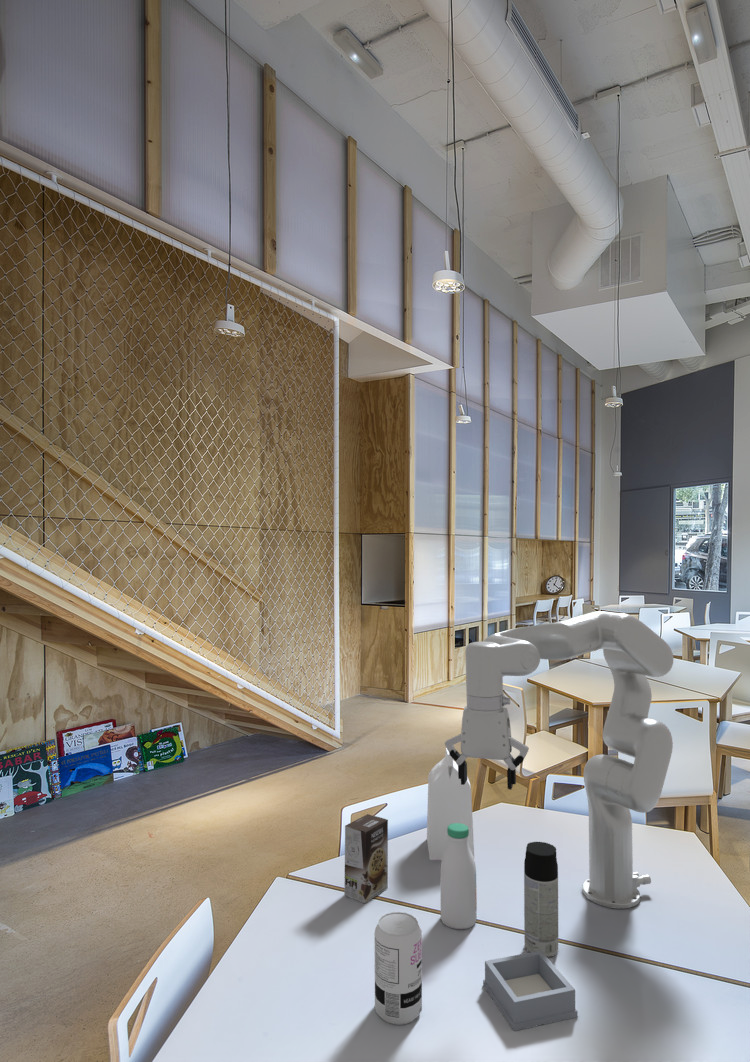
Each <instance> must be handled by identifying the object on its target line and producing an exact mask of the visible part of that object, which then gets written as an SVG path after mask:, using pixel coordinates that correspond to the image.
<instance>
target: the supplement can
mask: <svg viewBox="0 0 750 1062" xmlns="http://www.w3.org/2000/svg"><path fill="white" fill-rule="evenodd" d="M422 932H423V931H422V929H421V926H420V925H419V921H418V920H417V918H416V917H415V916H414V915H412V914H410V913H406V912H402V911H401V912H400V911H393V912H388V913H385V914H384V915H381V916H380V917H379V919H378V922H377V923H376V926H375V928H374V1009H375V1011H376V1014H377V1015H378V1016H379V1017H380V1018H381V1019H382V1020H383V1021H385V1022H387V1024H392V1025H396V1026H397V1025H398V1026H401V1025H406V1024H409V1023H412V1022H413V1021H414V1020H416V1019H417V1018H418V1017H419V1016H420V1014H421V1013H422V1010H423V996H422V995H423V992H422V991H423V988H422V987H423V983H422V981H423V979H422V978H423V971H422V970H423V966H422V963H423V962H422V961H423V960H422V959H423V958H422V957H423V955H422V953H423V951H422V950H423V949H422V948H423V947H422V946H423V945H422V944H423V942H422V939H423V937H422V936H423V935H422Z"/></svg>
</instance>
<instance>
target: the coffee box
mask: <svg viewBox="0 0 750 1062" xmlns="http://www.w3.org/2000/svg"><path fill="white" fill-rule="evenodd" d="M388 822H389V819H387V818H384V817H381V816H376V815H372V814H369V813H367V814H365V815H363V816H361V817H359V818H357V819H355V820H354V821H352V822H350V823H347V824H346V825H344V887H343V888H344V891H343V892H344V896H346V895H347V896H346V897H348V898H350V897H351V899H353V900H355V901H356V902H360V903H362V904H366V903H367V902H369V901H371V900H372V899H373V898H375V897H377V896H379V894H381V893H383V892H384V891H386V890H387V889H388V887H389V881H388V879H389V877H388V875H389V872H388V871H389V869H388V868H389V862H388V861H389V860H388V859H389V855H388V854H389V852H388V851H389V849H388V848H389V847H388V846H389V843H388V841H389V838H388V837H389V832H388V831H389V828H388V827H389V826H388V825H389V823H388Z"/></svg>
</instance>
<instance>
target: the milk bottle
mask: <svg viewBox="0 0 750 1062" xmlns="http://www.w3.org/2000/svg"><path fill="white" fill-rule="evenodd" d="M447 833H448V835H447V836H448V838H449V840H448V845H447V848H446V850H445V852H444V854H443V857H442V860H440V919H441V922H442V923H443V924H444V925H445V926H447V927H449V928H451V929H455V930H466V929H467V930H468V929H470V928H471V927H473V926H475V924H476V922H477V915H478V914H477V913H478V912H477V911H478V910H477V908H478V907H477V903H478V901H477V899H478V898H477V866H476V861H475V856H474V857H473V855H472V853H471V850H470V848H469V844H468V838H469V836H468V835H469V828H468V826H466V825H464V824H461V823H453V824H450V825H449V826H448V828H447Z"/></svg>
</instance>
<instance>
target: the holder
mask: <svg viewBox="0 0 750 1062" xmlns="http://www.w3.org/2000/svg"><path fill="white" fill-rule="evenodd" d="M482 986H483V987H484V988H485V990H486V991H487V994H489V996H490V998H491V999H492V1000H493V1002H494V1004H495V1005H496V1006H497V1008H498V1010H500V1012H501V1014H502V1016H503V1018H505V1020H506V1022H507V1023H508V1024H509V1026H510V1027H511V1029H512V1031H514V1032H515V1031H520V1030H525V1029H530V1028H533V1026H535V1027H537V1026H536V1025H539V1026H541V1025H540V1024H544V1025H547V1024H546V1023H548V1024H552V1022H553V1023H555V1022H556V1023H557V1022H561V1021H566V1020H570V1019H574V1018H578V1017H579V1016H578V1014H579V1013H578V1010H577V1009H576V989H575V988H574V987H573V985H572V984H571V983H570V982H569V981H568V979H566V978H565V976H564V975H563V974H562V973H561V972H560V971H559V969H557V967H556V966H555V965H554V963H552V961H551V960H550V959H549V957H546V956H545V955H544V954H543V952H542V951H536V952H530V953H529V952H526V953H525V952H524V953H521V954H515V955H510V956H506V957H505V956H504V957H499V958H493V959H488V960H485V961H484V979H483V980H482ZM529 1027H530V1028H529Z"/></svg>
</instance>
